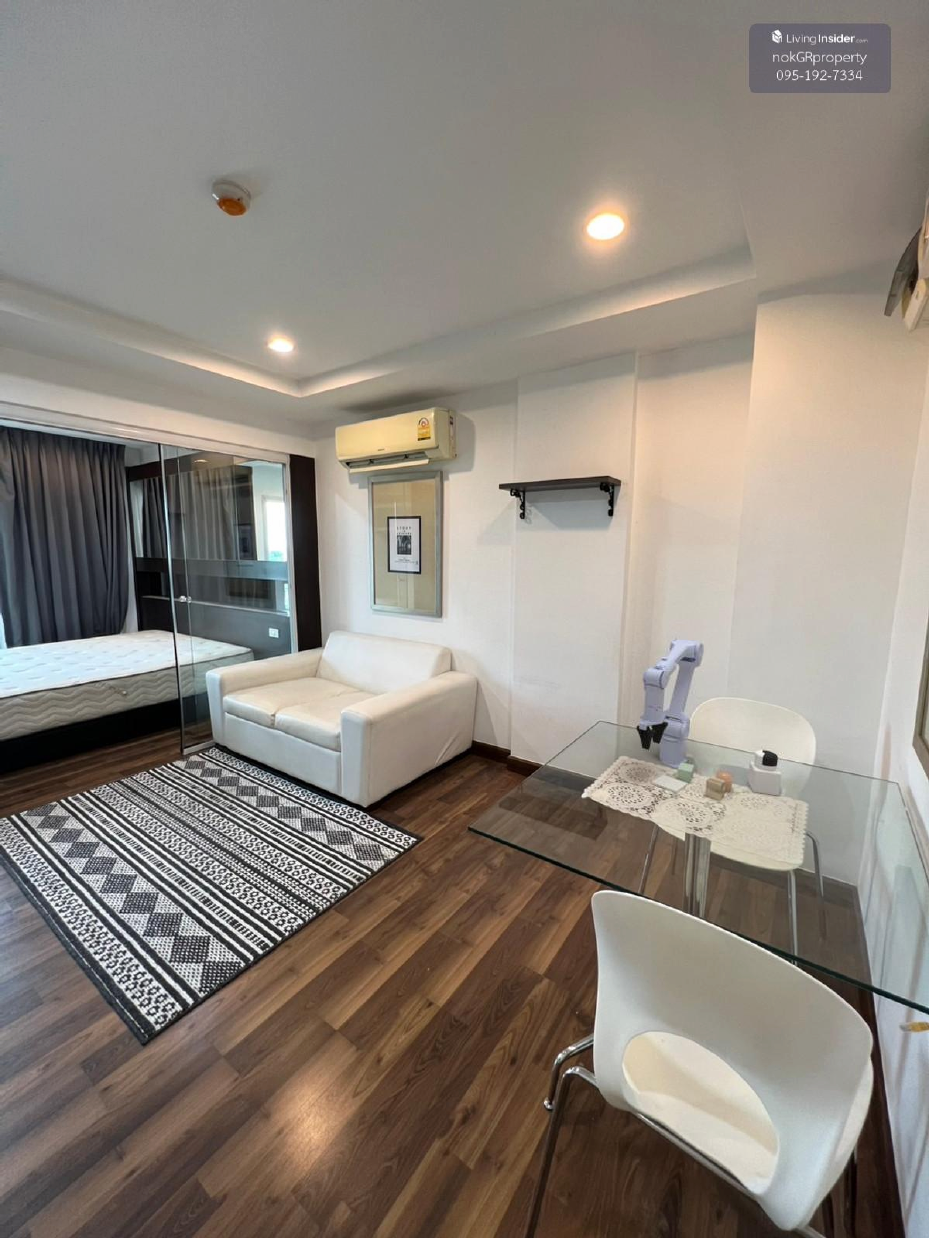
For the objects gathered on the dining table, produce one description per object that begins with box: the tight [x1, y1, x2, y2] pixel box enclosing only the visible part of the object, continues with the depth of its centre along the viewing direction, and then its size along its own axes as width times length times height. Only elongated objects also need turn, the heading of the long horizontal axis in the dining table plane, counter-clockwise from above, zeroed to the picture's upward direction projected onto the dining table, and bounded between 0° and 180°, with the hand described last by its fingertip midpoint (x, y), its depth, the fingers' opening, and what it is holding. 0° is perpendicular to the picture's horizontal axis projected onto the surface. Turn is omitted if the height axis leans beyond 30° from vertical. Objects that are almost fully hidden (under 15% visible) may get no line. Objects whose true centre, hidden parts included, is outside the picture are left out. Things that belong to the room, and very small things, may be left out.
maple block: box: [704, 776, 726, 802], centre depth 146 cm, size 4×4×5 cm
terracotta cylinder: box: [715, 770, 734, 793], centre depth 150 cm, size 4×4×5 cm
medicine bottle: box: [747, 749, 782, 797], centre depth 150 cm, size 7×7×12 cm
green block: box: [676, 762, 695, 784], centre depth 157 cm, size 4×4×6 cm
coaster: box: [651, 774, 689, 794], centre depth 153 cm, size 8×8×1 cm
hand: (651, 745), depth 158 cm, fingers open, 7 cm apart
